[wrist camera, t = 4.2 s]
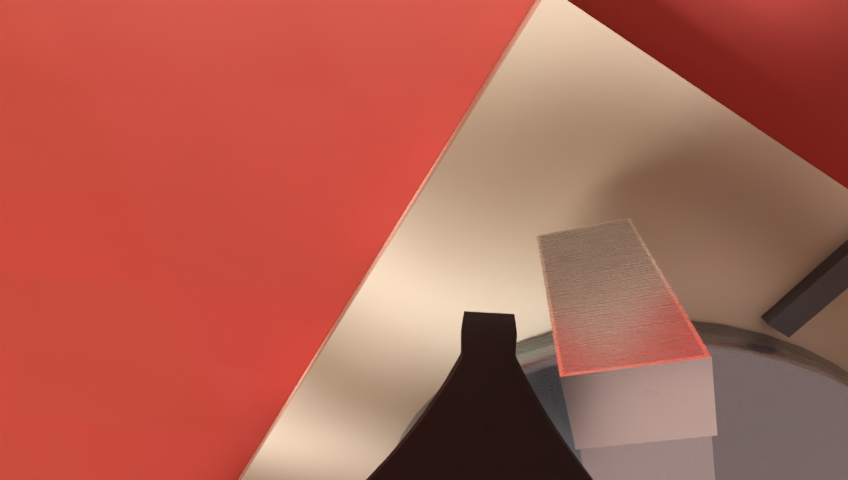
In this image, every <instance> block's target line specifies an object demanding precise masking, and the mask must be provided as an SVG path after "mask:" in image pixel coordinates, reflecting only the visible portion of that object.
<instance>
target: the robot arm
mask: <svg viewBox="0 0 848 480" xmlns="http://www.w3.org/2000/svg"><path fill="white" fill-rule="evenodd" d="M516 342H517V330H516V322H515V316H514V314H506V313H487V312H468V311H464V315H463V321H462V328H461V354H460V355H459V357H458V359H457V361H456V362H455V364H454V366H453V368H452V369H451V371H450V373H449V375H448V376H447V378H446V380H445V381H444V383H443V384H442V386H441V387H440V389H439V390H438V392H437V393H436V395H435V396H434V398H433V399H432V400H431V402H430V403H429V405H428V406H427V408H426V409H425V411H424V412H423V414H422V415H421V416H420V418H419V419H418V420H417V422H416V423H415V424H414V425H413V427H412V428H411V429H410V431H409V432H408V433H407V434H406V436H405V437H404V438H403V439H402V440H401V442H400V443H399V444H398V445H397V446H396V447H395V449H394V450H393V451H392V452H391V453H390V454H389V456H388V457H387V458H386V459H385V460H384V461H383V462H382V463H381V464H380V465H379V466H378V467H377V469H376V470H375V471H374V472H373V473H372V474H371V475H370V476H369V477H368V478H367V479H366V480H593V479H592V477H591V476H590V475H589V473H588V472H587V471H586V469H585V468H584V467H583V465H582V464H581V463H580V461H579V460H578V459H577V457H576V456H575V455H574V453H573V452H572V450H571V449H570V448H569V446H568V445H567V443H566V442H565V440H564V439H563V437H562V436H561V434H560V433H559V431H558V430H557V428H556V427H555V425H554V424H553V422H552V420H551V419H550V417H549V416H548V414H547V413H546V411H545V409H544V408H543V406H542V404H541V403H540V401H539V399H538V397H537V396H536V394H535V392H534V390H533V389H532V387H531V385H530V383H529V381H528V379H527V377H526V375H525V374H524V372H523V370H522V368H521V366H520V364H519V362H518V360H517V357H516Z"/></svg>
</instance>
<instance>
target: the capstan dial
mask: <svg viewBox="0 0 848 480" xmlns="http://www.w3.org/2000/svg"><path fill="white" fill-rule="evenodd" d="M537 241H538V247H539V253H540V259H541V265H542V271H543V277H544V283H545V289H546V296H547V302H548V308H549V314H550V320H551V326H552V332H553V333H550V334H547V335H544V336H540V337H537V338H534V339H531V340H528V341H525V342H522V343H519V344H516V357H517V360H518V362H519V364H520V366H521V368H522V370H523V372H524V374H525V375H526V377H527V379H528V381H529V383H530V385H531V387H532V389H533V390H534V392H535V394H536V396H537V397H538V399H539V401H540V403H541V404H542V406H543V408H544V409H545V411H546V413H547V414H548V416H549V417H550V419H551V420H552V422H553V424H554V425H555V427H556V428H557V430H558V431H559V433H560V434H561V436H562V437H563V439H564V440H565V442H566V443H567V445H568V446H569V448H570V449H571V450H572V452H573V453H574V455H575V456H576V457H577V459H578V460H579V461H580V463H581V464H582V465H583V467H584V468H585V469H586V471H587V472H588V473H589V475H590V476H591V477H592V479H593V480H848V372H846V371H845V370H843V369H842V368H840V367H839V366H838V365H836V364H834V363H832V362H830V361H828V360H826V359H824V358H822V357H820V356H818V355H816V354H814V353H812V352H810V351H808V350H806V349H804V348H802V347H800V346H797V345H794V344H791V343H788V342H786V341H783V340H780V339H777V338H774V337H771V336H769V335H766V334H763V333H758V332H754V331H749V330H745V329H740V328H736V327H732V326H727V325H723V324H714V323H705V322H696V321H690V319H689V318H688V316H687V314H686V313H685V311H684V309H683V308H682V306H681V304H680V302H679V301H678V299H677V297H676V296H675V294H674V292H673V291H672V289H671V287H670V286H669V284H668V282H667V281H666V279H665V277H664V275H663V274H662V272H661V270H660V269H659V267H658V265H657V264H656V262H655V260H654V259H653V257H652V255H651V253H650V252H649V250H648V248H647V247H646V245H645V243H644V242H643V240H642V238H641V237H640V235H639V233H638V232H637V230H636V228H635V226H634V225H633V223H632V221H631V220H630V218H625V219H620V220H615V221H610V222H604V223H599V224H594V225H589V226H584V227H579V228H574V229H568V230H563V231H558V232H553V233H548V234H543V235H537ZM435 395H436V394H434V395H433V396H432V397H431V398H430V400H429V401H428V402H427V403H426V404H425V405H424V406H423V407H422V408H421V409H420V411H419V412H418V413H417V414H416V415H415V416H414V418H413V419H412V421H411V422H410V424H409V425H408V427H407V428H406V430H405V431H404V433H403V434H402V436H401V438H400V440H399V442H398V444H399V443H400V442H401V440H402V439H403V438H404V437H405V436H406V434H407V433H408V432H409V431H410V429H411V428H412V427H413V425H414V424H415V423H416V422H417V420H418V419H419V418H420V416H421V415H422V414H423V412H424V411H425V409H426V408H427V406H428V405H429V403H430V402H431V400H432V399H433V398H434V396H435ZM398 444H397V445H398Z"/></svg>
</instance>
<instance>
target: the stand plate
mask: <svg viewBox="0 0 848 480" xmlns="http://www.w3.org/2000/svg"><path fill="white" fill-rule="evenodd" d="M625 218H630V220H631V221H632V223H633V225H634V226H635V228H636V230H637V232H638V233H639V235H640V237H641V238H642V240H643V242H644V243H645V245H646V247H647V248H648V250H649V252H650V253H651V255H652V257H653V259H654V260H655V262H656V264H657V265H658V267H659V269H660V270H661V272H662V274H663V275H664V277H665V279H666V281H667V282H668V284H669V286H670V287H671V289H672V291H673V292H674V294H675V296H676V297H677V299H678V301H679V302H680V304H681V306H682V308H683V309H684V311H685V313H686V314H687V316H688V318H689V319H690V321H696V322H705V323H714V324H723V325H727V326H732V327H736V328H740V329H745V330H749V331H754V332H758V333H763V334H766V335H769V336H771V337H774V338H777V339H780V340H783V341H786V342H788V343H791V344H794V345H797V346H800V347H802V348H804V349H806V350H808V351H810V352H812V353H814V354H816V355H818V356H820V357H822V358H824V359H826V360H828V361H830V362H832V363H834V364H836V365H838V366H839V367H840V368H842V369H843V370H845V371H846V372H848V189H847V188H845V187H844V186H842V185H841V184H839V183H838V182H836V181H835V180H834V179H832V178H831V177H829V176H828V175H826V174H825V173H823V172H822V171H820V170H819V169H817V168H816V167H814V166H813V165H811V164H810V163H808V162H807V161H805V160H804V159H802V158H801V157H799V156H798V155H796V154H795V153H793V152H792V151H790V150H789V149H787V148H786V147H784V146H783V145H782V144H780V143H779V142H777V141H776V140H774V139H773V138H771V137H770V136H768V135H767V134H765V133H764V132H762V131H761V130H759V129H758V128H756V127H755V126H753V125H752V124H750V123H749V122H747V121H746V120H744V119H743V118H741V117H740V116H738V115H737V114H735V113H734V112H732V111H731V110H730V109H728V108H727V107H725V106H724V105H722V104H721V103H719V102H718V101H716V100H715V99H713V98H712V97H710V96H709V95H707V94H706V93H704V92H703V91H701V90H700V89H698V88H697V87H695V86H694V85H692V84H691V83H689V82H688V81H686V80H685V79H683V78H682V77H680V76H679V75H678V74H676V73H675V72H673V71H672V70H670V69H669V68H667V67H666V66H664V65H663V64H661V63H660V62H658V61H657V60H655V59H654V58H652V57H651V56H649V55H648V54H646V53H645V52H643V51H642V50H640V49H639V48H637V47H636V46H634V45H633V44H631V43H630V42H628V41H627V40H625V39H624V38H623V37H621V36H620V35H618V34H617V33H615V32H614V31H612V30H611V29H609V28H608V27H606V26H605V25H603V24H602V23H600V22H599V21H597V20H596V19H594V18H593V17H591V16H590V15H588V14H587V13H585V12H584V11H582V10H581V9H579V8H578V7H576V6H575V5H573V4H572V3H571V2H569V1H568V0H536V1H535V2H534V4H533V5H532V7H531V9H530V10H529V12H528V13H527V15H526V17H525V18H524V20H523V21H522V23H521V25H520V26H519V28H518V29H517V31H516V33H515V34H514V36H513V38H512V39H511V41H510V42H509V44H508V46H507V47H506V49H505V50H504V52H503V54H502V55H501V57H500V58H499V60H498V62H497V63H496V65H495V66H494V68H493V70H492V71H491V73H490V75H489V76H488V78H487V79H486V81H485V83H484V84H483V86H482V87H481V89H480V91H479V92H478V94H477V95H476V97H475V99H474V100H473V102H472V103H471V105H470V107H469V108H468V110H467V112H466V113H465V115H464V116H463V118H462V120H461V121H460V123H459V124H458V126H457V128H456V129H455V131H454V132H453V134H452V136H451V137H450V139H449V141H448V142H447V144H446V145H445V147H444V149H443V150H442V152H441V153H440V155H439V157H438V158H437V160H436V161H435V163H434V165H433V166H432V168H431V169H430V171H429V173H428V174H427V176H426V178H425V179H424V181H423V182H422V184H421V186H420V187H419V189H418V190H417V192H416V194H415V195H414V197H413V198H412V200H411V202H410V203H409V205H408V206H407V208H406V210H405V211H404V213H403V215H402V216H401V218H400V219H399V221H398V223H397V224H396V226H395V227H394V229H393V231H392V232H391V234H390V235H389V237H388V239H387V240H386V242H385V243H384V245H383V247H382V248H381V250H380V252H379V253H378V255H377V256H376V258H375V260H374V261H373V263H372V264H371V266H370V268H369V269H368V271H367V272H366V274H365V276H364V277H363V279H362V280H361V282H360V284H359V285H358V287H357V289H356V290H355V292H354V293H353V295H352V297H351V298H350V300H349V301H348V303H347V305H346V306H345V308H344V309H343V311H342V313H341V314H340V316H339V318H338V319H337V321H336V322H335V324H334V326H333V327H332V329H331V330H330V332H329V334H328V335H327V337H326V338H325V340H324V342H323V343H322V345H321V346H320V348H319V350H318V351H317V353H316V355H315V356H314V358H313V359H312V361H311V363H310V364H309V366H308V367H307V369H306V371H305V372H304V374H303V375H302V377H301V379H300V380H299V382H298V383H297V385H296V387H295V388H294V390H293V392H292V393H291V395H290V396H289V398H288V400H287V401H286V403H285V404H284V406H283V408H282V409H281V411H280V412H279V414H278V416H277V417H276V419H275V420H274V422H273V424H272V425H271V427H270V429H269V430H268V432H267V433H266V435H265V437H264V438H263V440H262V441H261V443H260V445H259V446H258V448H257V449H256V451H255V453H254V454H253V456H252V458H251V459H250V461H249V462H248V464H247V466H246V467H245V469H244V470H243V472H242V474H241V475H240V477H239V478H238V480H366V479H367V478H368V477H369V476H370V475H371V474H372V473H373V472H374V471H375V470H376V469H377V467H378V466H379V465H380V464H381V463H382V462H383V461H384V460H385V459H386V458H387V457H388V456H389V454H390V453H391V452H392V451H393V450H394V449H395V447H396V446H397V444H398V442H399V440H400V438H401V436H402V434H403V433H404V431H405V430H406V428H407V427H408V425H409V424H410V422H411V421H412V419H413V418H414V416H415V415H416V414H417V413H418V412H419V411H420V409H421V408H422V407H423V406H424V405H425V404H426V403H427V402H428V401H429V400H430V398H431V397H432V396H433V395H434V394H436V393H437V392H438V390H439V389H440V387H441V386H442V384H443V383H444V381H445V380H446V378H447V376H448V375H449V373H450V371H451V369H452V368H453V366H454V364H455V362H456V361H457V359H458V357H459V355H460V354H461V328H462V321H463V315H464V311H468V312H487V313H506V314H514V316H515V322H516V330H517V342H516V344H519V343H522V342H525V341H528V340H531V339H534V338H537V337H540V336H544V335H547V334H550V333H553V332H552V326H551V320H550V314H549V308H548V302H547V296H546V289H545V283H544V277H543V271H542V265H541V259H540V253H539V247H538V241H537V235H543V234H548V233H553V232H558V231H563V230H568V229H574V228H579V227H584V226H589V225H594V224H599V223H604V222H610V221H615V220H620V219H625Z"/></svg>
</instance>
